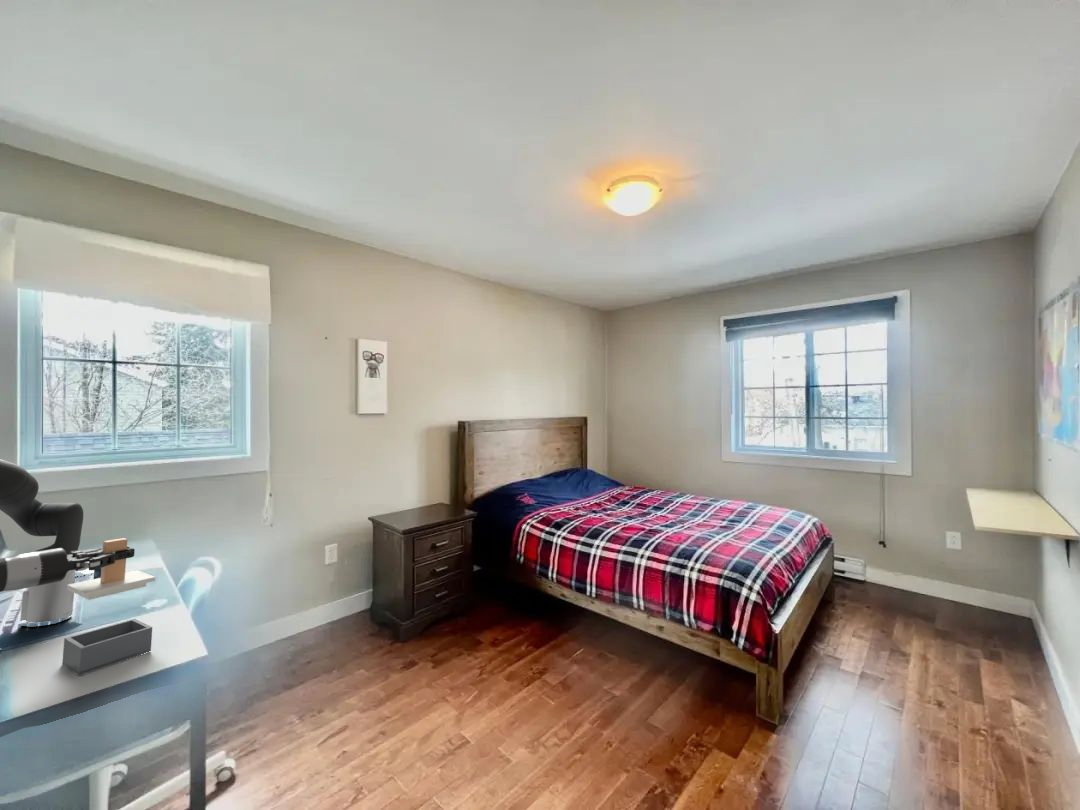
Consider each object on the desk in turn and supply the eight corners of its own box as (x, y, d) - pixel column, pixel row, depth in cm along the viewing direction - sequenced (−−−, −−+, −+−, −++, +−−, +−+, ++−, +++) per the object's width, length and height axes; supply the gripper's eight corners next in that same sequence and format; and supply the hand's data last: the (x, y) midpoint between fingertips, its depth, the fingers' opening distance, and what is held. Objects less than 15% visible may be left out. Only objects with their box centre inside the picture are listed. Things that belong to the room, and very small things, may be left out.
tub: (78, 676, 101) (81, 648, 101) (62, 664, 106) (64, 638, 106) (150, 651, 112) (152, 627, 113) (132, 642, 117) (134, 618, 117)
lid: (83, 602, 104) (87, 549, 105) (66, 594, 109) (70, 542, 110) (154, 585, 116) (157, 537, 117) (136, 578, 121) (139, 532, 122)
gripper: (45, 557, 98) (145, 540, 113) (24, 547, 104) (120, 533, 120) (42, 592, 97) (143, 570, 113) (21, 580, 104) (118, 562, 119)
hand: (131, 551), depth 116 cm, fingers closed on lid
